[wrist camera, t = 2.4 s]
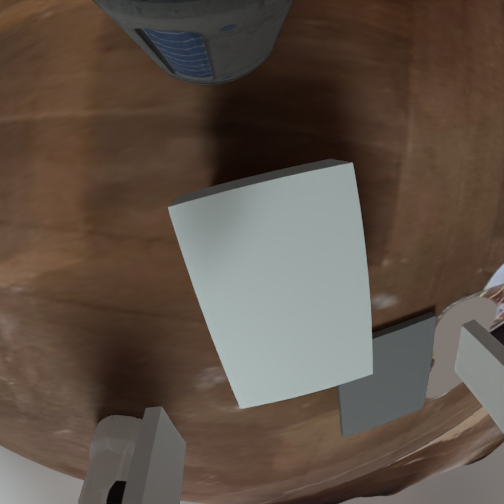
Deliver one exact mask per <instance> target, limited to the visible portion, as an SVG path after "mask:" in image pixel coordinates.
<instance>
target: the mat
mask: <svg viewBox="0 0 504 504" xmlns="http://www.w3.org/2000/svg"><path fill="white" fill-rule="evenodd" d="M435 323H436V315H435V314H434V313H433V312H432V311H431V312H429V313H426V314H424V315H421V316H418V317H416V318H413V319H410V320H408V321H405V322H402V323H399V324H396V325H394V326H391V327H388V328H385V329H382V330H379V331H376V332H373V333H372V351H373V374H371V375H368V376H365V377H362V378H359V379H356V380H353V381H350V382H347V383H344V384H341V385H337V390H338V400H339V411H340V422H341V433H342V436H343V437H346V436H350V435H353V434H356V433H359V432H362V431H365V430H368V429H371V428H373V427H376V426H379V425H382V424H384V423H387V422H390V421H392V420H395V419H397V418H400V417H402V416H405V415H407V414H409V413H412V412H414V411H416V410H419V409H421V408H423V406H424V401H425V396H426V390H427V385H428V378H429V372H430V366H431V359H432V351H433V343H434V333H435Z"/></svg>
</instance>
